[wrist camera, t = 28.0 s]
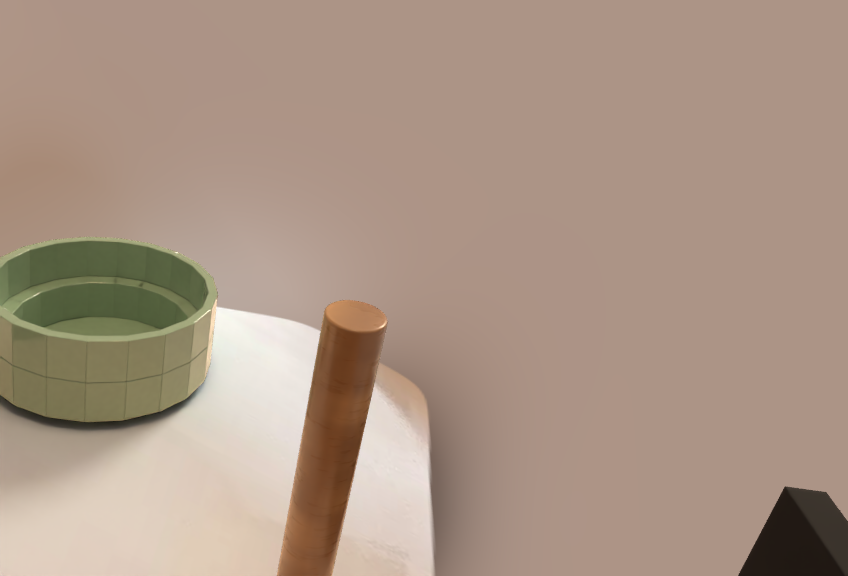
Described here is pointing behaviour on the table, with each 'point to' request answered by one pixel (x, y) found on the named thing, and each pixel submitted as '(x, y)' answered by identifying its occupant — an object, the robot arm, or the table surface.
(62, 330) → the bowl
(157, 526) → the table surface
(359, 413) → the brown rod with base
